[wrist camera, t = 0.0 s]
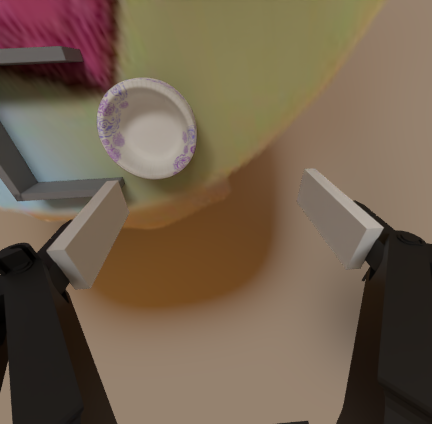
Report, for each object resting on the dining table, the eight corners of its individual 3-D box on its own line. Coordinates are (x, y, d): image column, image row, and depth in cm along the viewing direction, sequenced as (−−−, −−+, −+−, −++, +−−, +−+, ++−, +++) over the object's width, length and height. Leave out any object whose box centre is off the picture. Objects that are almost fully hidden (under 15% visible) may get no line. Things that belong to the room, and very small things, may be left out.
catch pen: (-51, 55, 30) (-90, 53, 26) (79, 49, 31) (60, 46, 27) (34, 189, 44) (17, 201, 40) (124, 183, 44) (116, 194, 40)
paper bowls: (198, 164, 43) (197, 181, 36) (124, 163, 42) (110, 180, 35) (196, 78, 34) (195, 80, 27) (103, 75, 33) (79, 75, 26)
